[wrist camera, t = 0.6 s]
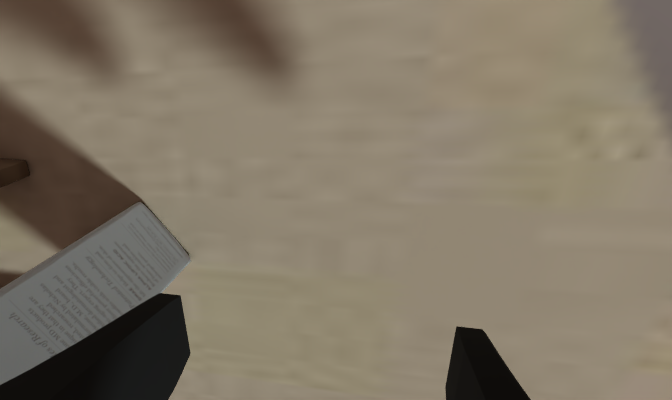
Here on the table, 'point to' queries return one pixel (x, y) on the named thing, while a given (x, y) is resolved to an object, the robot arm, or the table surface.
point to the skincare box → (85, 288)
